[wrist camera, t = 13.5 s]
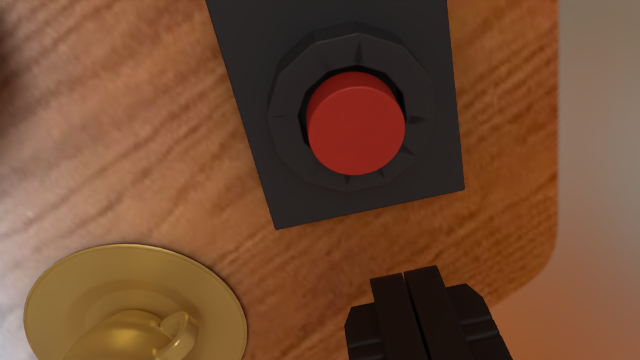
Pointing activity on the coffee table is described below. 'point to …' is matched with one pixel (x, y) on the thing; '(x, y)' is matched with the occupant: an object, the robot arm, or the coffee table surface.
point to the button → (354, 123)
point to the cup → (133, 308)
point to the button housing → (323, 63)
